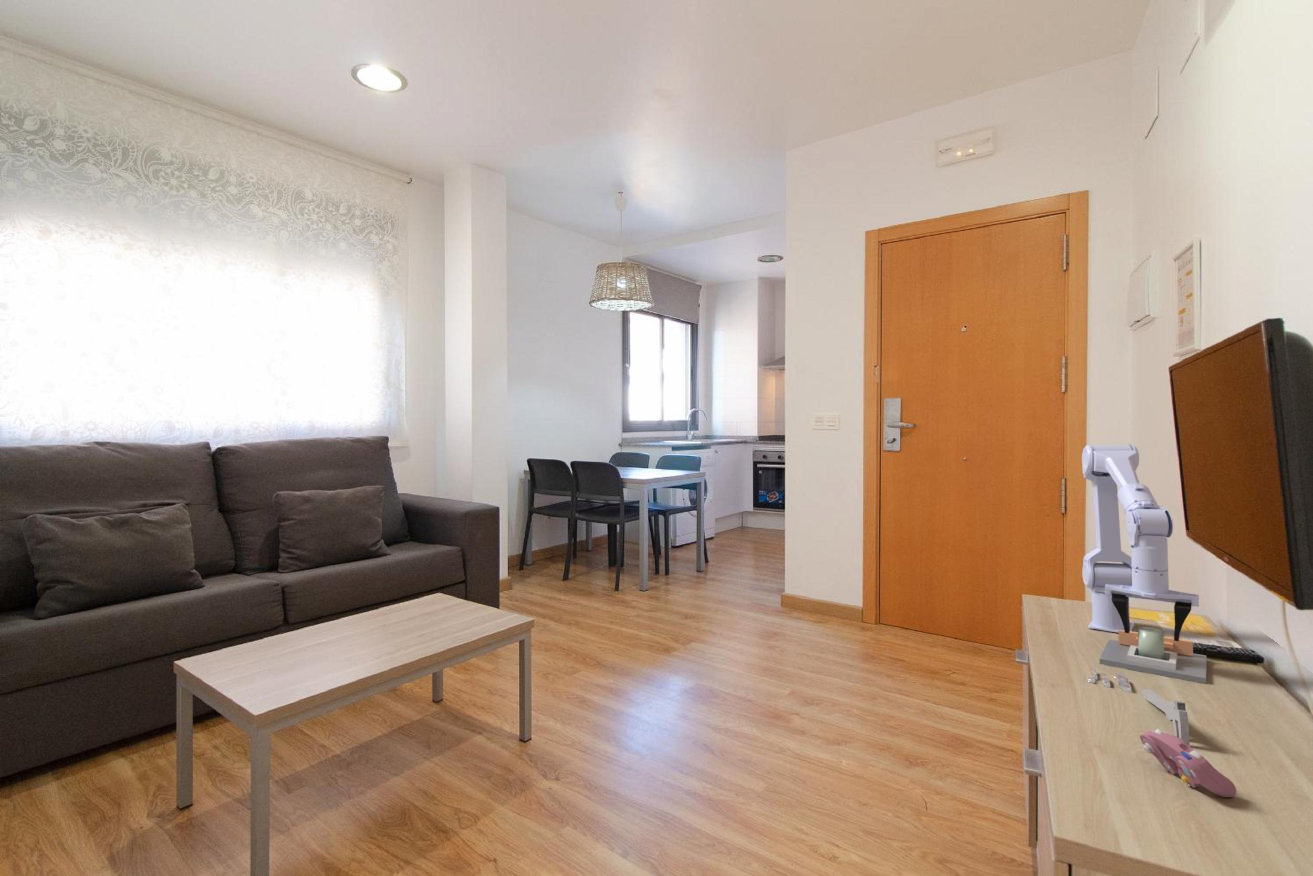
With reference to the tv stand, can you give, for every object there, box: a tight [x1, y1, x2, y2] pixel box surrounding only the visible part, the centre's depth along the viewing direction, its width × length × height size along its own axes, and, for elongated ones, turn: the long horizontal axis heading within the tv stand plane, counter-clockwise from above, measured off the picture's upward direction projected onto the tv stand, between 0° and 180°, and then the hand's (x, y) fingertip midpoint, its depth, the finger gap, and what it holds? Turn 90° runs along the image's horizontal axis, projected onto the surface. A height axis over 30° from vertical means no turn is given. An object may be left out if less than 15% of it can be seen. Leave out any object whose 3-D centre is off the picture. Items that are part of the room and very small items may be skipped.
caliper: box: [1140, 688, 1191, 746], centre depth 99 cm, size 20×1×6 cm, turn 155°
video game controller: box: [1139, 728, 1237, 798], centre depth 82 cm, size 10×5×7 cm, turn 179°
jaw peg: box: [1137, 626, 1165, 660], centre depth 121 cm, size 4×4×6 cm
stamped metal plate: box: [1086, 668, 1132, 693], centre depth 114 cm, size 8×7×2 cm
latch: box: [1117, 629, 1194, 656], centre depth 126 cm, size 2×12×3 cm, turn 47°
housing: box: [1099, 639, 1208, 685], centre depth 123 cm, size 15×16×2 cm
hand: (1151, 635), depth 121 cm, fingers open, 7 cm apart
